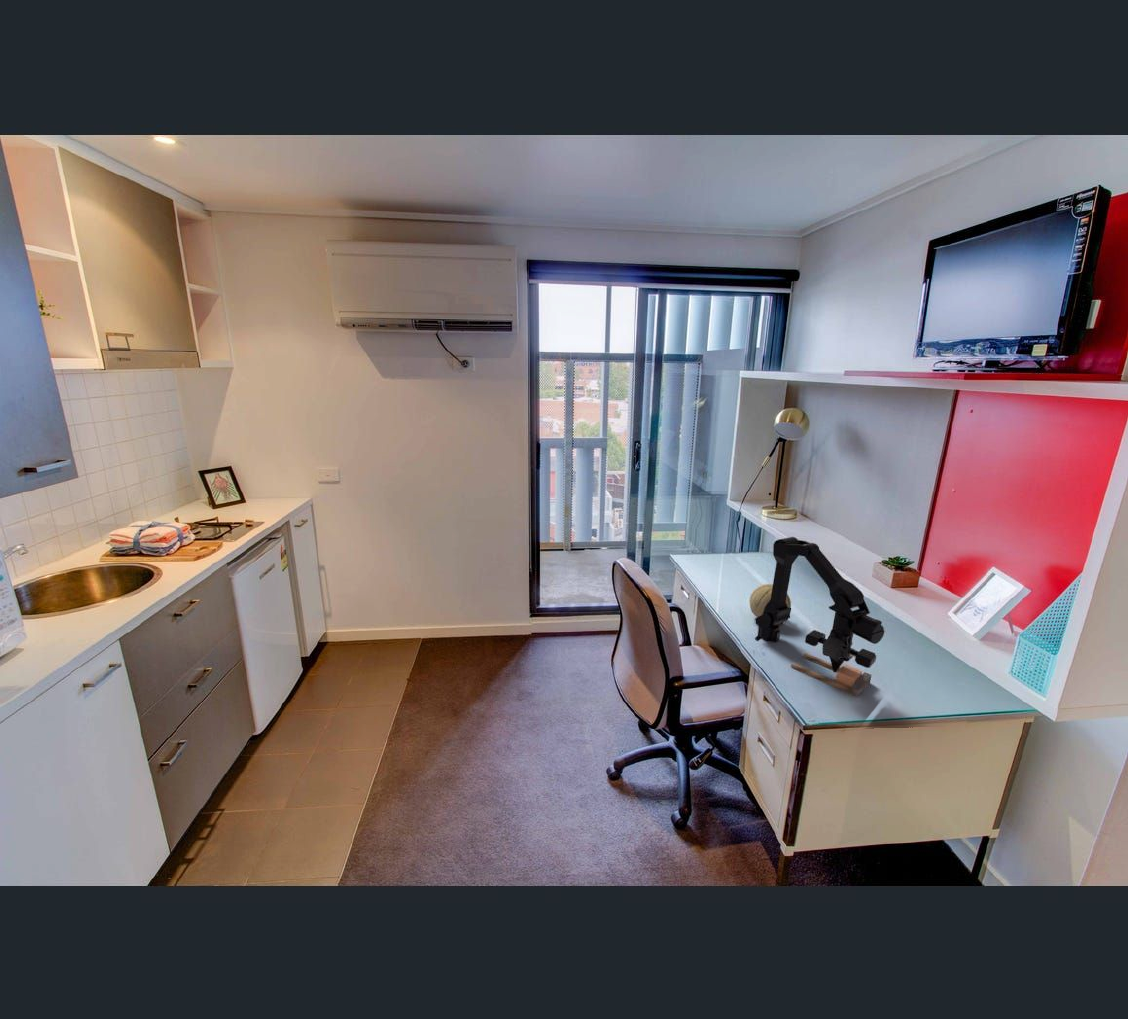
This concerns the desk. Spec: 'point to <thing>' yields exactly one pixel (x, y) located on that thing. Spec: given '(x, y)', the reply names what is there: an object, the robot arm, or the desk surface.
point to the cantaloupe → (762, 599)
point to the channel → (856, 687)
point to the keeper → (848, 675)
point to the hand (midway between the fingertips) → (835, 671)
